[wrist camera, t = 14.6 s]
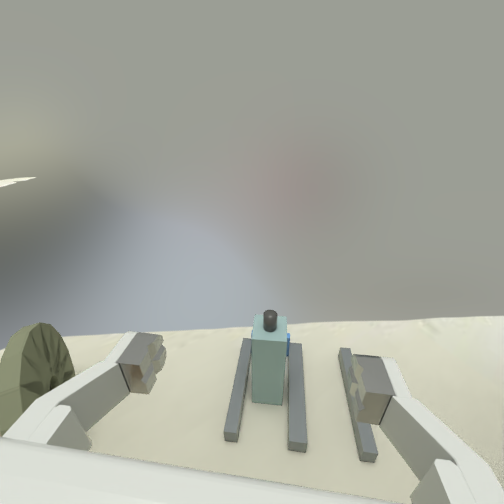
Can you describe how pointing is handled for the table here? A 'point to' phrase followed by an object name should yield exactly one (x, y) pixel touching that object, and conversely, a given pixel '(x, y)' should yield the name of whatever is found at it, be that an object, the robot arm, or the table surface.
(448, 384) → the table surface
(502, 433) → the table surface
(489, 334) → the table surface
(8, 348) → the spool
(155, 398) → the table surface
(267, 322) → the capped teal pillar
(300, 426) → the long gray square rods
